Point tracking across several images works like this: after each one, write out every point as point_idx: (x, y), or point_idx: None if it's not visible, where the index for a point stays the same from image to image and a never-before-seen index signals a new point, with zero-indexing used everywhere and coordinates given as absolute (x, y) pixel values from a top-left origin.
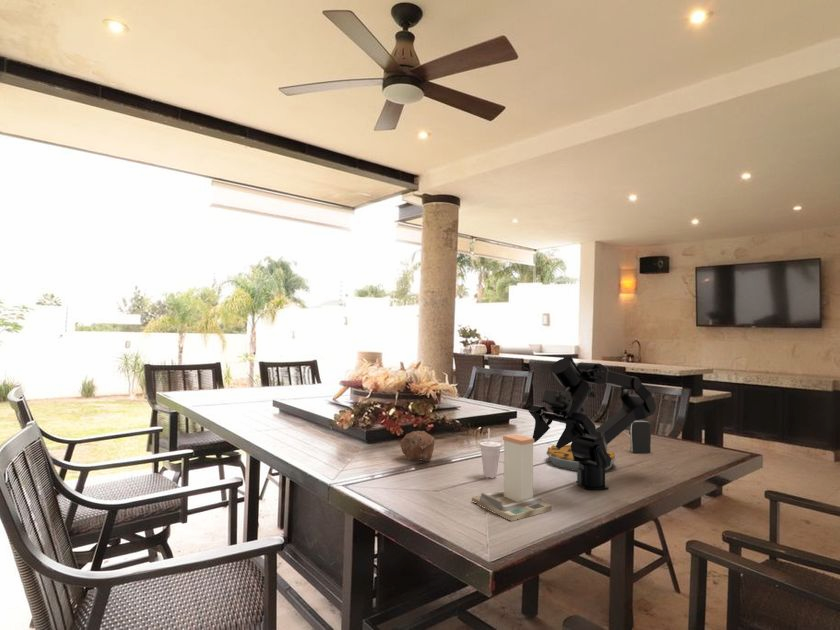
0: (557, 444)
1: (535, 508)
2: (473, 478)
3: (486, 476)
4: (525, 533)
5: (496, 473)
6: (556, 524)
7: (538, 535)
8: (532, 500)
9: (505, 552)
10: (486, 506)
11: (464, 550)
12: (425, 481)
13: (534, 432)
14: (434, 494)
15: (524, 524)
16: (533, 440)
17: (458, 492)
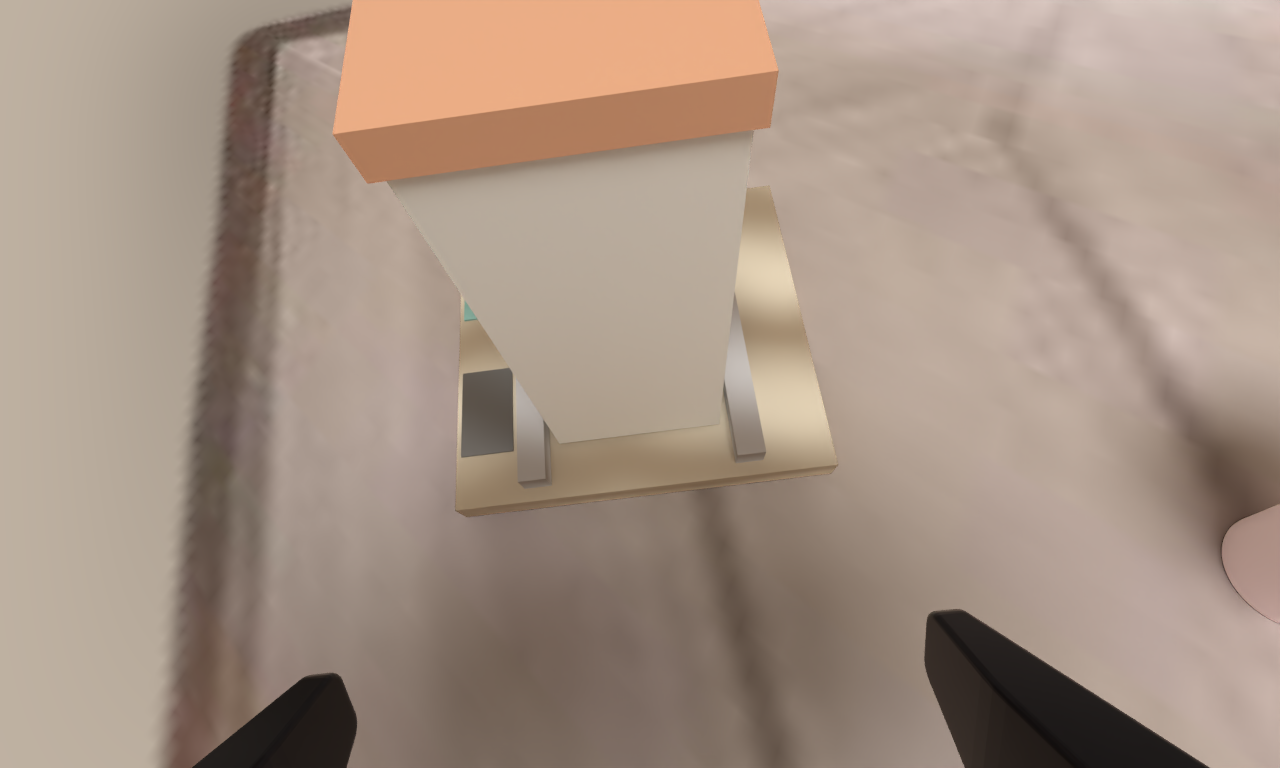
0: (286, 696)
1: (464, 384)
2: (1243, 419)
3: (1254, 514)
4: (345, 230)
5: (1274, 596)
6: (322, 407)
7: (299, 263)
8: (517, 401)
9: (287, 103)
10: None
11: None
12: (1192, 131)
13: (1103, 725)
14: (939, 102)
15: (413, 276)
16: (347, 139)
17: (941, 209)
